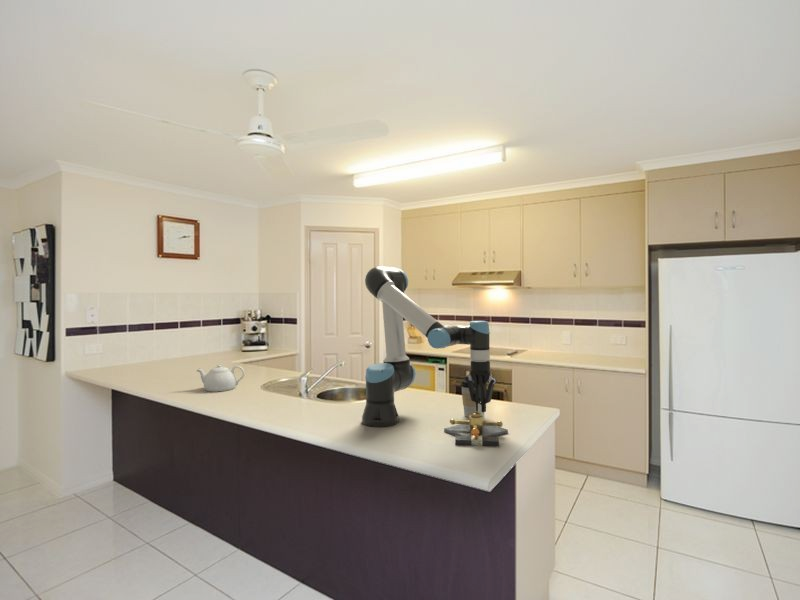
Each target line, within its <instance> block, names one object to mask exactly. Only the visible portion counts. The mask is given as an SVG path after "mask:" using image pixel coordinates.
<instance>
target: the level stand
mask: <svg viewBox="0 0 800 600" xmlns="http://www.w3.org/2000/svg"><path fill="white" fill-rule="evenodd" d="M443 431H444V433H447V434H449V435H453V436H454V437H455V441H454V442H455V446H475V447H477V446H478V447H496V446H500V441H499V436H502V435H506V434H508V433H509V430H508V429H506V428H504V427H498V426H485V425H483V431H480V432H479V435H478V436H477V437H473V436H472V435H471V431H470V430H469V425H465V424H455V425H452V426H448V427H445V428H444V429H443ZM505 433H506V434H505ZM495 436H496V437H495Z"/></svg>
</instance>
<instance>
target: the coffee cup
mask: <svg viewBox="0 0 800 600" xmlns="http://www.w3.org/2000/svg"><path fill="white" fill-rule="evenodd" d="M472 381H473V379H472ZM473 384H474V381H473ZM459 386H460V387H461V397H462V405H463V406H462V407H463V413H464V414H463V415H464V416H465V417H467V418H469V416H470V415H471V413H472V412H478V411H476V403H475V402H474V401H472V400H471V396H470V392H469V388H468V384H467V381H466V380H465V379H462V380H461V382H460V385H459ZM474 388H475V386H474Z"/></svg>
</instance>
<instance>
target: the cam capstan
mask: <svg viewBox="0 0 800 600" xmlns="http://www.w3.org/2000/svg"><path fill="white" fill-rule="evenodd" d="M503 423H504V422H503V421H501V420H498V421H491V420H490V421H487V420H486V421H485V420H483V416H481V413H478V412H472V413H471V415H470V416H469V417H468V420H466V419H465V420H464V419H455V418H451V419H449V424H450V425H452V426H455V425H460V424H465V425H469V430H470V431H471V435H472V436H473V437H477V436H478V435H479V432H480V431H483V425H485V426H498V427H501V428H503V425H504V424H503Z"/></svg>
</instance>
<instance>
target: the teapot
mask: <svg viewBox="0 0 800 600" xmlns="http://www.w3.org/2000/svg"><path fill="white" fill-rule="evenodd" d="M236 368H239V369H240V371H241V372H242V375H241V377H240V378H239V379H238V378H237V376H236V374H235V372H234V370H235V369H236ZM196 372H198V373H199V374H200V379H201V382H202V383H203V388H204V390H205V391H206V392H209V391H211V392H210V393H218V391H221V392H226V391H227V392H228V391H231V390H234V389H235V388H236V387H237V386H238V385H239V382H241V380H242V379H243V378H244V377H245V369H244V368H243V367H242V366H240V365H234V366H233V367H232V369H231V368H228V367H225V366H222V364H217V365H216V367H213V368H211V369H210V370H209V371H208V372H207V373H205V371H204V370H203V369H202V368H199V369H196ZM237 379H238V380H237Z"/></svg>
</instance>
